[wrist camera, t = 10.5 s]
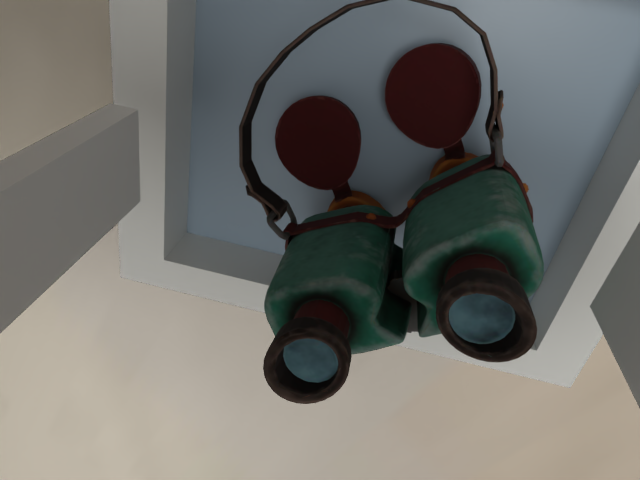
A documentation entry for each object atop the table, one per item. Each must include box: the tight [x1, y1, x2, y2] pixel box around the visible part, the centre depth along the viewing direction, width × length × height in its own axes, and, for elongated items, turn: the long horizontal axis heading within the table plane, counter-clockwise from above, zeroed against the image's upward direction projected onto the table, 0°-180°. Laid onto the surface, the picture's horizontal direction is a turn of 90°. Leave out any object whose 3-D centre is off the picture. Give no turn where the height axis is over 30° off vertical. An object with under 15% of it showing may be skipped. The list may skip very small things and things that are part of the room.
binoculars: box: [239, 0, 544, 404], centre depth 15 cm, size 9×11×10 cm
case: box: [109, 0, 640, 388], centre depth 19 cm, size 16×20×4 cm
